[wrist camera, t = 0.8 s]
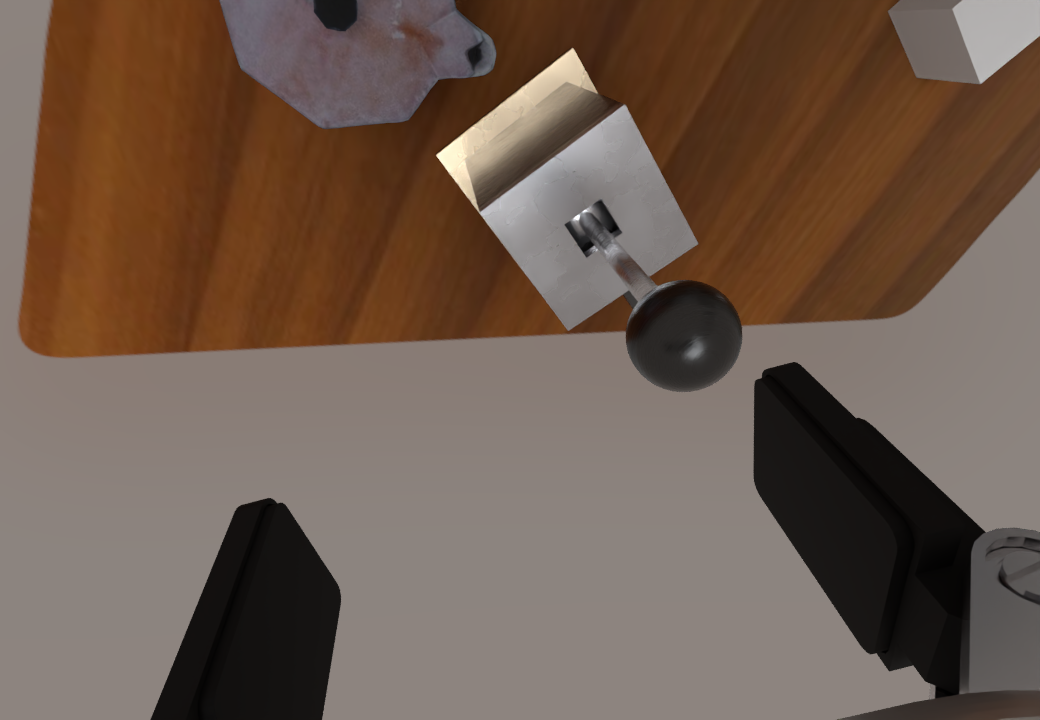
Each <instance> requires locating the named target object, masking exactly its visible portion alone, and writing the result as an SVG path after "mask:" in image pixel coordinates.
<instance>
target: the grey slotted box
mask: <svg viewBox="0 0 1040 720" xmlns="http://www.w3.org/2000/svg"><path fill="white" fill-rule="evenodd" d="M436 156H437V157H438V159H439V160H440V161H441V163H442V164H443V165H444V167H445V168H446V169H447V171H448V172H449V173H450V175H451V176H452V177H453V179H454V180H455V181H456V183H457V184H458V185H459V187H460V188H461V189H462V191H463V192H464V193H465V195H466V196H467V197H468V199H469V200H470V201H471V203H472V204H473V205H474V207H475V208H476V209H477V211H478V212H479V213H480V215H481V216H482V217H483V219H484V220H485V221H486V223H487V224H488V225H489V227H490V228H491V229H492V231H493V232H494V233H495V235H496V236H497V237H498V239H499V240H500V241H501V243H502V244H503V245H504V247H505V248H506V249H507V251H508V252H509V253H510V255H511V256H512V257H513V259H514V260H515V261H516V263H517V264H518V265H519V267H520V268H521V269H522V271H523V272H524V273H525V275H526V276H527V277H528V278H529V279H530V280H531V282H532V283H533V284H534V286H535V287H536V288H537V290H538V291H539V292H540V294H541V295H542V296H543V298H544V299H545V300H546V302H547V303H548V304H549V306H550V307H551V308H552V310H553V311H554V312H555V314H556V315H557V316H558V318H559V319H560V321H561V322H562V323H563V325H564V326H565V327H566V329H567V330H568V331H569V330H570V329H572V328H573V327H575V326H576V325H578V324H579V323H581V322H582V321H584V320H585V319H587V318H588V317H590V316H591V315H593V314H594V313H596V312H597V311H599V310H600V309H602V308H603V307H605V306H606V305H608V304H609V303H611V302H612V301H614V300H615V299H617V298H618V297H620V296H621V295H623V296H624V297H625V299H626V300H627V301H628V303H629V304H630V305H631V307H632V308H633V309H634V307H635V306H636V304H637V303H638V301H637V300H636V299H635V297H634V296H633V295H632V293H631V292H630V291H629V289H628V288H627V287H626V285H625V284H624V283H623V282H622V280H621V279H620V278H619V276H618V275H617V274H616V272H615V271H614V270H613V269H612V267H611V266H610V265H609V263H608V262H607V261H606V259H605V258H604V257H603V256H602V254H601V253H600V252H599V250H598V249H597V248H596V246H595V245H594V246H593V247H591V248H590V249H588V250H587V251H585V252H584V253H583V252H582V250H581V249H580V247H579V246H578V244H577V243H576V241H575V240H574V238H573V237H572V235H571V234H570V232H569V231H568V229H567V228H566V226H565V225H564V224H566V223H567V222H569V221H570V220H572V219H573V218H574V217H576V216H577V215H579V214H580V213H581V212H583V211H584V210H586V209H587V208H588V207H590V206H591V205H593V204H594V203H595V202H597V201H598V200H600V199H601V201H602V202H603V204H604V206H605V207H606V209H607V211H608V212H609V214H610V216H611V217H612V219H613V221H614V222H615V224H616V225H617V227H618V229H617V230H616V231H614V232H613V233H611V235H612V236H613V237H614V238H615V239H616V240H617V241H618V243H619V244H620V245H621V246H622V247H623V248H624V249H625V250H626V252H627V253H628V254H629V255H630V256H631V257H632V258H633V259H634V261H635V262H636V263H637V264H638V265H639V266H640V267H641V268H642V270H643V271H644V272H645V273H646V274H647V275H648V276H651V275H652V274H654V273H655V272H657V271H658V270H660V269H661V268H663V267H664V266H666V265H667V264H669V263H670V262H672V261H673V260H675V259H676V258H678V257H679V256H681V255H682V254H684V253H685V252H687V251H688V250H690V249H691V248H693V247H694V246H696V245H697V244H698V242H697V240H696V238H695V237H694V235H693V233H692V231H691V229H690V227H689V225H688V223H687V221H686V219H685V218H684V216H683V214H682V212H681V210H680V208H679V206H678V204H677V202H676V200H675V199H674V197H673V195H672V193H671V191H670V189H669V187H668V185H667V183H666V181H665V180H664V178H663V176H662V174H661V172H660V170H659V168H658V166H657V164H656V162H655V161H654V159H653V157H652V155H651V153H650V151H649V149H648V147H647V145H646V143H645V142H644V140H643V138H642V136H641V134H640V132H639V130H638V128H637V126H636V124H635V123H634V121H633V119H632V117H631V115H630V113H629V111H628V109H627V107H626V105H625V104H623V103H620V102H618V101H615V100H612V99H610V98H607V97H605V96H602V95H599V94H598V92H597V91H596V89H595V87H594V85H593V83H592V81H591V80H590V78H589V76H588V74H587V72H586V70H585V69H584V67H583V65H582V63H581V61H580V60H579V58H578V56H577V54H576V52H575V50H574V49H573V48H570V49H569V50H567V51H566V52H565V53H564V54H562V55H561V56H560V57H559V58H557V59H556V60H555V61H553V62H552V63H551V64H550V65H548V66H547V67H546V68H545V69H543V70H542V71H541V72H539V73H538V74H537V75H536V76H534V77H533V78H532V79H530V80H529V81H528V82H527V83H525V84H524V85H523V86H522V87H520V88H519V89H518V90H516V91H515V92H514V93H513V94H511V95H510V96H509V97H508V98H506V99H505V100H504V101H502V102H501V103H500V104H499V105H497V106H496V107H495V108H493V109H492V110H491V111H490V112H488V113H487V114H486V115H485V116H483V117H482V118H481V119H479V120H478V121H477V122H476V123H474V124H473V125H472V126H471V127H469V128H468V129H467V130H465V131H464V132H463V133H462V134H460V135H459V136H458V137H456V138H455V139H454V140H453V141H451V142H450V143H449V144H448V145H446V146H445V147H444V148H442V149H441V150H440V151H439V152H437V153H436Z"/></svg>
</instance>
